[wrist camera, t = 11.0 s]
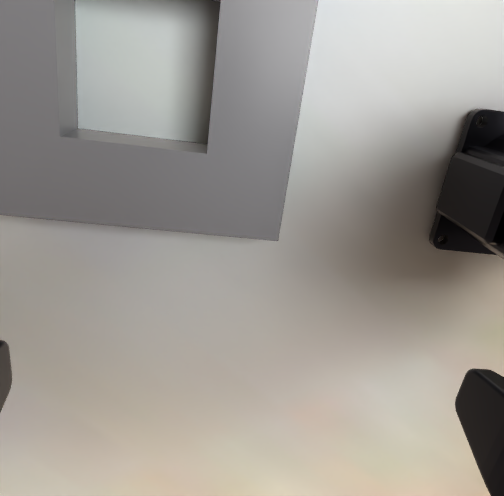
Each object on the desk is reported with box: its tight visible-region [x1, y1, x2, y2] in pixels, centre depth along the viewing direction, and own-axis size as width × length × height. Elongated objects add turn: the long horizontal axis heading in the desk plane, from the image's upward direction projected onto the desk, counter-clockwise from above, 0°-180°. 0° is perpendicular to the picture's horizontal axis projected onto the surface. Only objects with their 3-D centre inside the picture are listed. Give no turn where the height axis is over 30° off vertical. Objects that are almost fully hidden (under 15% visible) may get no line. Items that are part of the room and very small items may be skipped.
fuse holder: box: [0, 0, 318, 241], centre depth 16 cm, size 12×12×2 cm
